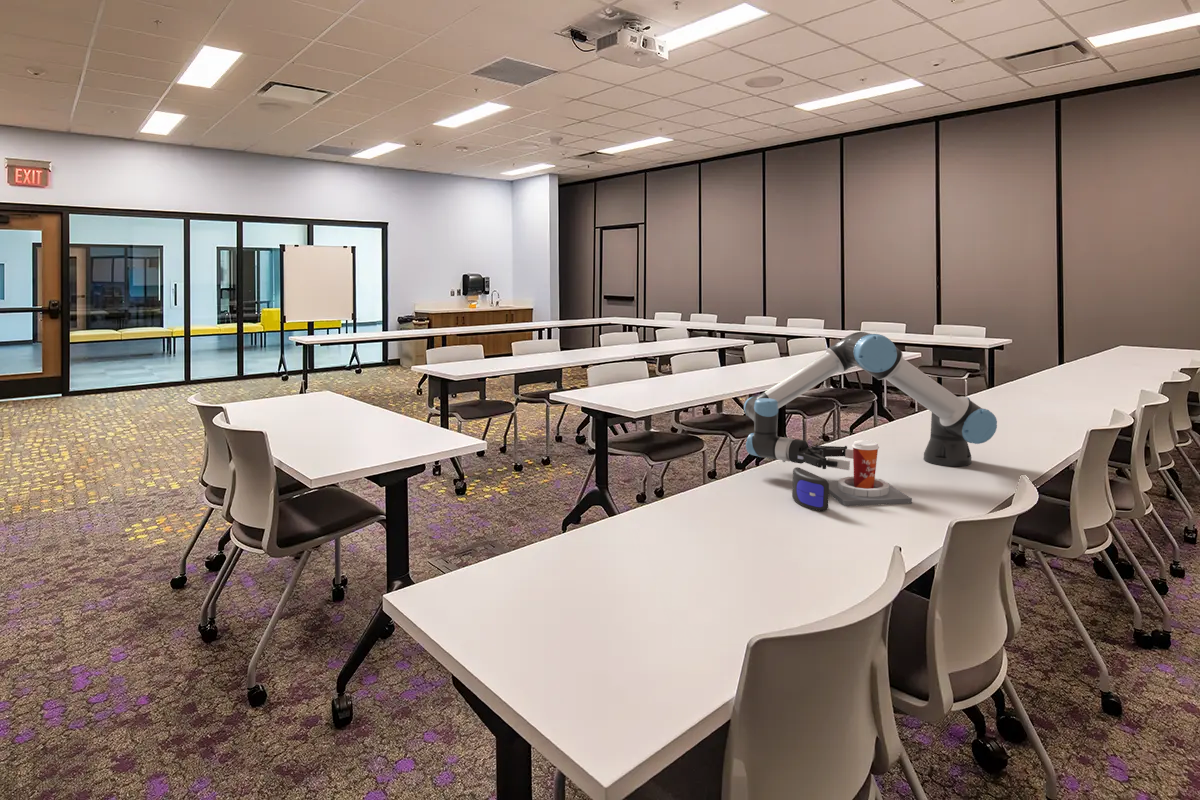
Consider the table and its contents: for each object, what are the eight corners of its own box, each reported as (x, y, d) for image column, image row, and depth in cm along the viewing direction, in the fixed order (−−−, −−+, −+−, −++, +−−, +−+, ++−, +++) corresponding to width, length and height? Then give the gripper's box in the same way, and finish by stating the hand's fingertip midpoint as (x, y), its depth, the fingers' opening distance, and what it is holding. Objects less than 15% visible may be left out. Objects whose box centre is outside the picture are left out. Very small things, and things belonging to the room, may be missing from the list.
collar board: (880, 483, 221) (880, 472, 220) (911, 503, 201) (912, 491, 201) (818, 485, 220) (818, 475, 219) (844, 506, 200) (844, 494, 200)
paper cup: (865, 492, 207) (867, 447, 205) (845, 486, 214) (846, 441, 211) (883, 487, 211) (885, 443, 209) (862, 481, 218) (864, 438, 215)
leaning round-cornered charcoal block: (783, 497, 209) (784, 467, 208) (797, 495, 211) (798, 465, 209) (815, 514, 194) (816, 481, 192) (829, 512, 195) (830, 480, 194)
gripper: (809, 454, 233) (872, 464, 219) (773, 470, 215) (840, 482, 201) (809, 432, 232) (873, 441, 218) (774, 446, 214) (841, 457, 200)
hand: (858, 460), depth 210 cm, fingers open, 13 cm apart
